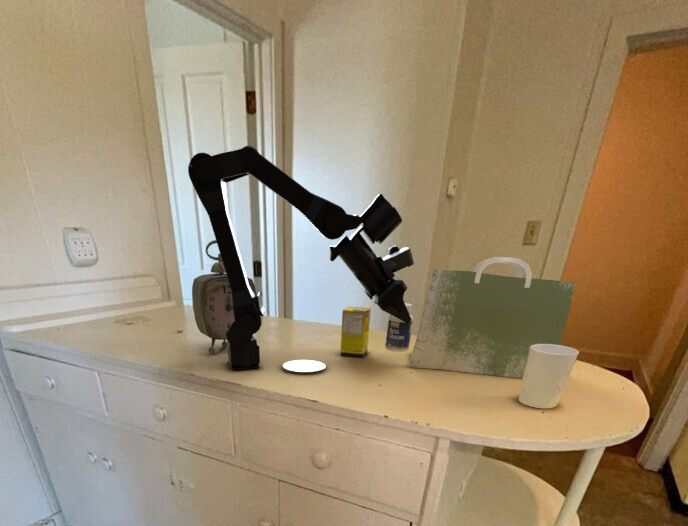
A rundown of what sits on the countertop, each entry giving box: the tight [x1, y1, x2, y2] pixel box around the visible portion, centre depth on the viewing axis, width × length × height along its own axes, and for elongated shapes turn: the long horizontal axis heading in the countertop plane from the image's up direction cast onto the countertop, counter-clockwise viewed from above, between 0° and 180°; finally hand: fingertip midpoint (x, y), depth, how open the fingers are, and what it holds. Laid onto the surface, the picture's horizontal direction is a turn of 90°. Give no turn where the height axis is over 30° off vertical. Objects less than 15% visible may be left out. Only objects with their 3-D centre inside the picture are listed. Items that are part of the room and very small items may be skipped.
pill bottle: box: [384, 302, 414, 353], centre depth 96 cm, size 5×5×10 cm
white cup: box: [518, 344, 580, 409], centre depth 79 cm, size 8×8×10 cm
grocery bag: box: [409, 256, 576, 379], centre depth 96 cm, size 32×14×23 cm, turn 73°
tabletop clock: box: [191, 239, 257, 355], centre depth 106 cm, size 14×9×25 cm, turn 120°
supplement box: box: [340, 306, 372, 358], centre depth 108 cm, size 6×6×11 cm
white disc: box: [282, 359, 327, 376], centre depth 99 cm, size 10×10×1 cm
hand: (406, 319), depth 95 cm, fingers closed on pill bottle, 5 cm apart
